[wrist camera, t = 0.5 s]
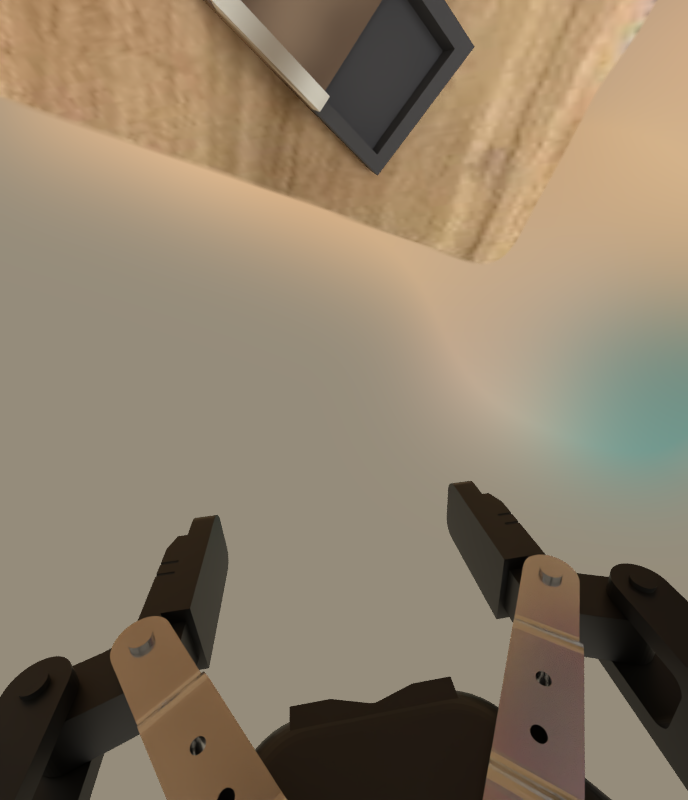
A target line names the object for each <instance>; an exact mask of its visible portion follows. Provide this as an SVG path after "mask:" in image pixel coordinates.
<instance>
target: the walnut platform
mask: <svg viewBox="0 0 688 800" xmlns="http://www.w3.org/2000/svg"><path fill="white" fill-rule="evenodd" d="M204 1H205V2H206V3H207V4H208V5H209V6H210V7H211V8H212V9H213V10H214V11H215V12H216V13H217V14H218V15H219V16H220V18H221V19H222V20H223V21H224V22H225V23H226V24H227V25H228V26H229V27H230V28H231V29H232V30H233V31H234V32H235V33H236V34H237V35H238V36H239V37H240V38H241V39H242V40H243V41H244V42H245V43H246V44H247V45H248V46H249V47H250V48H251V49H252V50H253V51H254V52H255V53H256V54H257V55H258V56H259V57H260V58H261V59H262V60H263V61H264V62H265V63H266V64H267V65H268V66H269V67H270V68H271V69H272V71H273V72H274V73H275V74H276V75H277V76H278V77H279V78H280V79H281V80H282V81H283V82H284V83H285V84H286V85H287V86H288V87H289V88H290V89H291V90H292V91H293V92H294V93H295V94H296V95H297V96H298V97H299V98H300V99H301V100H302V101H303V102H304V103H305V104H306V105H307V106H308V107H309V108H310V109H313V110H316V111H319V112H320V111H321V110H322V108H323V107H324V105H325V103H326V102H327V100H328V99H329V97H330V96H329V95H328V94H327V93H326V92H325V90H326V89H327V87H328V85H329V84H330V82H331V81H332V79H333V77H334V76H335V74H336V73H337V71H338V69H339V68H340V66H341V65H342V63H343V62H344V60H345V58H346V57H347V55H348V54H349V52H350V50H351V49H352V47H353V46H354V44H355V42H356V41H357V39H358V38H359V36H360V34H361V33H362V31H363V30H364V28H365V27H366V25H367V23H368V22H369V20H370V19H371V17H372V15H373V14H374V12H375V11H376V9H377V7H378V6H379V4H380V3H381V1H382V0H204Z"/></svg>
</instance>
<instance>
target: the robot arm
mask: <svg viewBox="0 0 688 800" xmlns="http://www.w3.org/2000/svg"><path fill="white" fill-rule="evenodd" d="M447 524H448V529H449V532H450V535H451V537H452V539H453V541H454V543H455V545H456V546H457V548H458V550H459V552H460V554H461V555H462V557H463V559H464V561H465V563H466V564H467V566H468V568H469V570H470V571H471V574H472V575H473V577H474V579H475V581H476V583H477V584H478V586H479V588H480V590H481V591H482V594H483V595H484V597H485V599H486V601H487V603H488V604H489V606H490V608H491V610H492V612H493V613H494V615H495V617H496V619H500V618H505V617H510V619H511V620H512V622H513V627H512V633H511V639H510V644H509V650H508V656H507V662H506V668H505V673H504V680H503V686H502V691H501V697H500V703H499V708H498V707H497V706H495V705H494V704H492V703H491V702H489V701H487V700H485V699H483V698H481V697H478V696H475V695H473V694H469V693H465V692H460V691H456V690H455V688H454V685H453V682H452V680H451V677H446V678H440V679H435V680H429V681H424V682H420V683H413V684H411V685H409V686H407V687H405V688H403V689H401V690H399V691H397V692H395V693H394V694H392V695H390V696H388V697H386V698H384V699H382V700H380V701H378V702H376V703H362V702H353V701H343V700H334V699H328V700H323V701H318V702H313V703H308V704H302V705H297V706H291V707H290V722H289V723H287V724H285V725H283V726H281V727H280V728H279V729H277V730H276V731H274V732H273V733H272V734H270V735H269V736H268V737H267V738H266V739H265V740H264V741H263V742H262V743H261V744H260V745H259V746H258V747H257V748H256V749H254V748H253V746H252V744H251V743H250V741H249V740H248V738H247V737H246V735H245V734H244V732H243V730H242V729H241V727H240V726H239V724H238V723H237V721H236V719H235V718H234V716H233V715H232V713H231V712H230V710H229V708H228V707H227V705H226V704H225V702H224V701H223V699H222V698H221V696H220V694H219V693H218V691H217V690H216V688H215V687H214V685H213V683H212V682H211V680H210V679H209V678H208V676H207V675H206V673H205V672H202V673H201V672H200V671H199V670H200V669H206V668H209V665H210V660H211V655H212V649H213V644H214V639H215V633H216V628H217V623H218V618H219V613H220V607H221V602H222V597H223V592H224V586H225V581H226V576H227V570H228V551H227V546H226V542H225V538H224V534H223V530H222V526H221V522H220V518H219V516H218V515H214V516H207V517H200V518H195V519H194V520H193V522H192V524H191V527H190V530H189V533H188V535H184V536H178V537H177V538H176V539H175V540H174V542H173V543H172V544H171V545H170V546H169V547H168V548H167V550H166V552H165V555H164V557H163V560H162V562H161V565H160V567H159V569H158V572H157V577H155V579H154V582H153V584H152V587H151V589H150V592H149V594H148V597H147V599H146V602H145V604H144V607H143V609H142V612H141V614H140V617H139V619H138V621H137V622H135V623H133V624H132V625H130V626H129V627H127V628H126V629H125V630H124V631H123V632H122V633H121V634H120V635H119V636H118V638H117V639H116V641H115V643H114V644H113V646H112V648H111V649H109V650H107V651H105V652H104V653H102V654H99V655H97V656H95V657H92V658H90V659H88V660H85V661H84V662H81V663H79V664H76V665H74V666H72V665H71V663H70V661H69V660H68V659H66V658H65V657H59V656H58V657H57V656H56V657H50V658H46V659H44V660H41V661H39V662H37V663H35V664H33V665H32V666H30V667H28V668H27V669H26V670H24V671H23V672H22V673H20V674H19V675H18V676H17V677H16V678H15V679H14V680H13V681H12V682H11V683H10V684H9V685H8V687H7V688H6V689H5V691H4V692H3V694H2V695H1V697H0V800H90V797H91V794H92V790H93V787H94V784H95V781H96V778H97V774H98V771H99V768H100V765H101V762H102V758H103V756H104V753H105V752H107V751H109V750H111V749H113V748H115V747H117V746H119V745H120V744H122V743H124V742H126V741H128V740H130V739H132V738H134V737H135V736H137V735H139V734H140V736H141V738H142V740H143V743H144V745H145V748H146V750H147V753H148V755H149V757H150V760H151V762H152V765H153V767H154V770H155V772H156V775H157V777H158V779H159V782H160V784H161V787H162V789H163V792H164V794H165V796H166V799H167V800H611V799H610V798H609V797H608V796H606V795H605V794H604V793H603V792H601V791H600V790H599V789H598V788H597V787H596V786H594V785H593V784H592V783H591V782H589V781H588V780H587V779H586V778H585V760H584V757H585V756H584V754H585V752H584V657H590V658H596V659H599V661H600V662H601V664H602V665H603V667H604V668H605V670H606V671H607V672H608V674H609V675H610V677H611V678H612V680H613V681H614V683H615V684H616V686H617V687H618V689H619V690H620V692H621V693H622V695H623V696H624V697H625V699H626V700H627V702H628V703H629V705H630V706H631V708H632V709H633V711H634V712H635V713H636V715H637V717H638V718H639V720H640V721H641V723H642V724H643V726H644V727H645V728H646V730H647V731H648V733H649V734H650V736H651V737H652V739H653V740H654V742H655V743H656V745H657V746H658V747H659V749H660V751H661V752H662V753H663V755H664V756H665V758H666V759H667V761H668V762H669V764H670V765H671V767H672V768H673V770H674V771H675V773H676V774H677V776H678V777H679V778H680V780H681V781H682V783H683V784H684V786H685V787H686V789H687V790H688V602H687V600H686V599H685V598H684V597H683V596H681V595H680V594H679V593H678V592H677V591H676V590H675V589H674V588H673V587H672V586H671V585H670V584H669V583H668V582H667V581H666V580H665V579H664V578H662V577H661V576H660V575H658V574H657V573H655V572H653V571H651V570H649V569H647V568H644V567H642V566H638V565H634V564H618V565H616V566H614V567H613V568H612V569H611V572H610V576H609V577H604V576H595V575H587V574H579V573H576V572H575V571H574V570H573V568H571V566H569V565H568V564H567V563H565V562H563V561H562V560H560V559H558V558H555V557H553V556H549V555H545V553H544V552H543V551H542V550H541V549H540V547H539V546H538V545H537V544H536V542H535V541H534V540H533V539H532V538H531V536H530V535H529V534H528V533H527V531H526V530H525V529H524V528H523V527H522V525H521V524H520V523H518V521H517V519H516V518H515V517H514V516H513V515H512V514H511V512H510V511H509V510H508V508H507V507H506V506H505V505H504V504H503V503H502V501H500V500H499V499H497V498H495V497H494V496H492V495H491V494H489V493H487V494H482V493H481V492H480V491H479V489H478V488H477V487H476V486H475V484H474V483H473V482H472V481H467V482H459V483H452V484H450V485H449V488H448V505H447Z"/></svg>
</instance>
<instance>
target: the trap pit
mask: <svg viewBox="0 0 688 800" xmlns="http://www.w3.org/2000/svg"><path fill="white" fill-rule="evenodd" d="M473 48H474V45H473V44H472V42H471V41H470V39H469V37H468V36H467V34H466V33H465V31H464V30H463V28H462V27H461V25H460V23H459V22H458V20H457V19H456V17H455V16H454V14H453V13H452V11H451V9H450V8H449V6H448V5H447V3H446V2H445V0H382V1H381V3H380V4H379V6H378V7H377V9H376V11H375V12H374V14H373V15H372V17H371V19H370V20H369V22H368V23H367V25H366V27H365V28H364V30H363V31H362V33H361V34H360V36H359V38H358V39H357V41H356V42H355V44H354V46H353V47H352V49H351V50H350V52H349V54H348V55H347V57H346V58H345V60H344V62H343V63H342V65H341V66H340V68H339V69H338V71H337V73H336V74H335V76H334V77H333V79H332V81H331V82H330V84H329V85H328V87H327V89H326V90H325V92H326V93H327V94H328V95H329V96H330V97H329V99H328V100H327V102H326V103H325V105H324V107H323V108H322V110H321V111H320V112H319V111H316V110H313V109H311V110H312V111H313V112H314V113H315V114H316V115H317V116H318V117H319V118H320V119H321V120H322V121H323V122H324V123H325V125H326V126H327V127H328V128H329V129H330V130H331V131H332V132H333V133H334V134H335V135H336V136H337V137H338V138H339V139H340V140H341V141H342V142H343V143H344V144H345V145H346V146H347V147H348V148H349V149H350V150H351V151H352V152H353V153H354V154H355V155H356V156H357V157H358V158H359V159H360V160H361V161H362V162H363V163H364V164H365V165H366V166H367V167H368V168H369V169H370V170H371V171H372V172H373V173H375V174H376V175H378V174H379V173H380V172H381V170H382V169H383V168H384V166H385V165H386V164H387V162H388V161H389V160H390V158H391V157H392V156H393V154H394V153H395V152H396V150H397V149H398V148H399V146H400V145H401V144H402V142H403V141H404V140H405V138H406V137H407V136H408V135H409V133H410V132H411V131H412V129H413V128H414V127H415V125H416V124H417V123H418V121H419V120H420V119H421V117H422V116H423V115H424V113H425V112H426V111H427V109H428V108H429V107H430V105H431V104H432V103H433V101H434V100H435V99H436V97H437V96H438V95H439V93H440V92H441V91H442V89H443V88H444V87H445V85H446V84H447V83H448V81H449V80H450V79H451V77H452V76H453V75H454V73H455V72H456V71H457V69H458V68H459V67H460V65H461V64H462V63H463V61H464V60H465V59H466V57H467V56H468V55H469V53H470V52H471V51H472V49H473Z"/></svg>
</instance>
